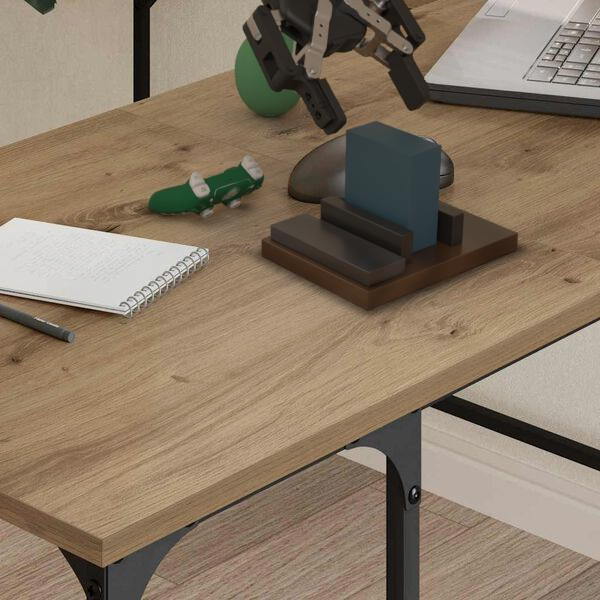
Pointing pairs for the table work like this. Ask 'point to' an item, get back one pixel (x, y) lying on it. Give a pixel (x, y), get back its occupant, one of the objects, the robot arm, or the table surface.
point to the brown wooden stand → (381, 250)
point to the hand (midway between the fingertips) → (380, 117)
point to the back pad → (395, 178)
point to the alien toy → (261, 84)
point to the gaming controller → (209, 191)
